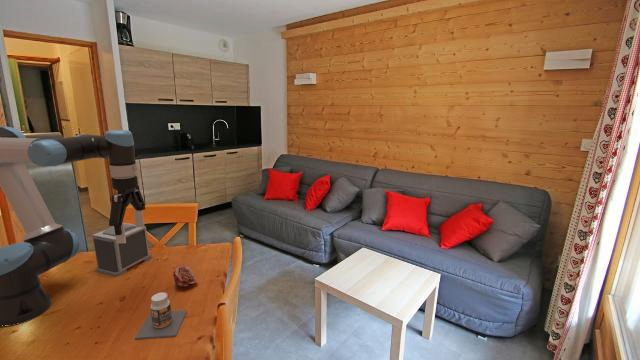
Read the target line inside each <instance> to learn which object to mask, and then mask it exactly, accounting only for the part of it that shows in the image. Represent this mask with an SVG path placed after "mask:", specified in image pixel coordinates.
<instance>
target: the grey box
mask: <svg viewBox="0 0 640 360" xmlns="http://www.w3.org/2000/svg"><path fill="white" fill-rule="evenodd" d="M122 224H124V229H125V237H126V243H116V237H115V229H114V226H109V227H108V228H106V229H103V230H102V231H99V232H96V233H94V234H92V240H93V241H92V242H93V246H94V247H93V248H94V254H95V258H96V264H97V266H96V267H95V268H94V269H95V273H98V274H101V275H105V276H110V277H114V278H118V277H120V276H122V275H124V274H126V273H128V272H127V271H128V270H127V269H129V268H131V267H133V266H135V265H136V264H138V263H140V262H144V263H146V262H147V261H149V260H151V259H152V258H153V257H152V254H151V253H150V249H149V240H148V231H147V226H145V225H144V227H138V228H136V225H135V224H134V223H127V222H123V223H122Z"/></svg>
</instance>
